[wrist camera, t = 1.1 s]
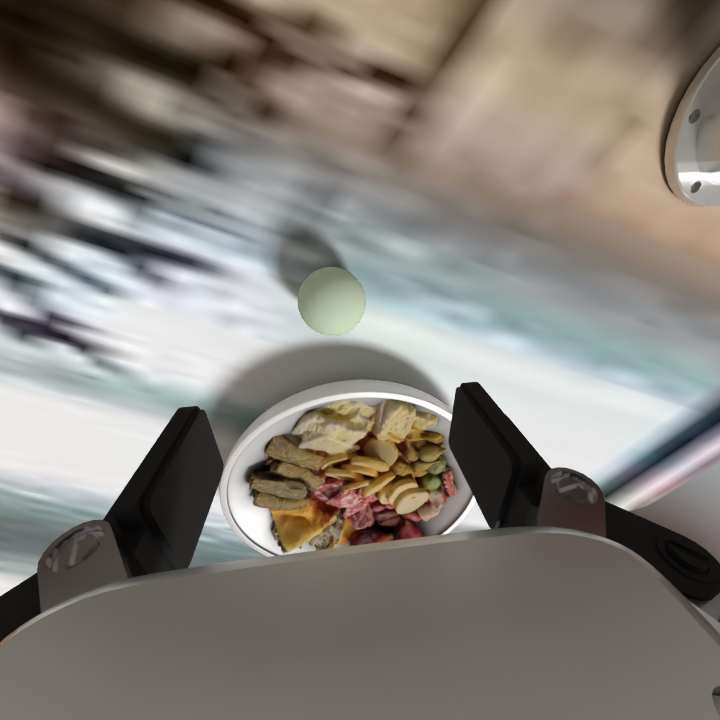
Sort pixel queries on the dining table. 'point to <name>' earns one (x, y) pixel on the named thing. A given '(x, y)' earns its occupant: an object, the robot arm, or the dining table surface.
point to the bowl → (345, 470)
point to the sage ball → (331, 301)
